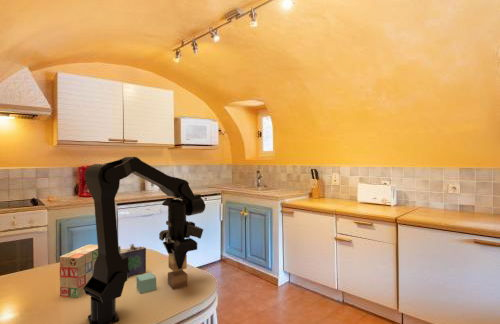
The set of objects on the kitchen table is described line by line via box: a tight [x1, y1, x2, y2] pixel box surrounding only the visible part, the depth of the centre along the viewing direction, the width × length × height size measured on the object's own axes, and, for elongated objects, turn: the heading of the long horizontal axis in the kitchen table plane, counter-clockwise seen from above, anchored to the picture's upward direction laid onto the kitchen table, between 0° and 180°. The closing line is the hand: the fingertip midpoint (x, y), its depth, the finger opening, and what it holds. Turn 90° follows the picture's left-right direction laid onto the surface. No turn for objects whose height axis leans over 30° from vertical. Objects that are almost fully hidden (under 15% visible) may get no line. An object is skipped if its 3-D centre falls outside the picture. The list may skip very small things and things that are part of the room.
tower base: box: [135, 272, 157, 294], centre depth 93 cm, size 5×5×4 cm
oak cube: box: [167, 253, 188, 272], centre depth 96 cm, size 4×4×4 cm
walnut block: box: [167, 269, 188, 290], centre depth 96 cm, size 5×5×4 cm
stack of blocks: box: [59, 244, 122, 299], centre depth 98 cm, size 21×6×12 cm, turn 171°
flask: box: [120, 243, 147, 278], centre depth 104 cm, size 9×3×11 cm, turn 133°
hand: (177, 266), depth 96 cm, fingers closed on oak cube, 4 cm apart
